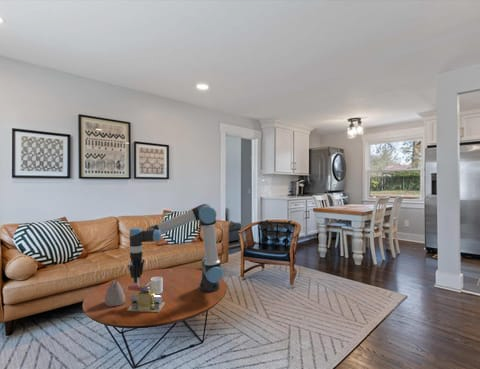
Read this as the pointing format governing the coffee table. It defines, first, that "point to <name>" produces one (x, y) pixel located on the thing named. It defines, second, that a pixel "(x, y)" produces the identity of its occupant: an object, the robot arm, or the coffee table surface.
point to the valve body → (146, 302)
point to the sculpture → (114, 295)
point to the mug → (156, 284)
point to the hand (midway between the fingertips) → (137, 287)
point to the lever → (139, 288)
